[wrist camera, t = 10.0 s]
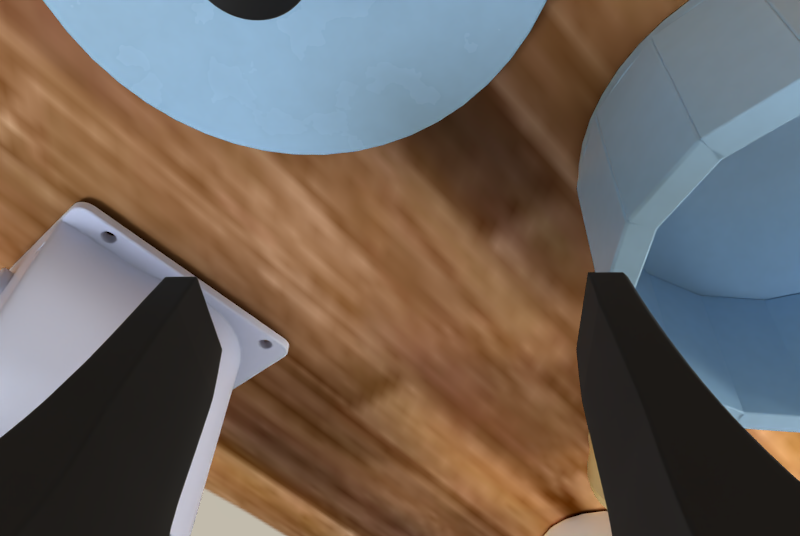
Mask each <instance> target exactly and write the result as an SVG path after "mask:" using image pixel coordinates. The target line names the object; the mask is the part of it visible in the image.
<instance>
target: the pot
mask: <svg viewBox="0 0 800 536" xmlns="http://www.w3.org/2000/svg"><path fill="white" fill-rule="evenodd" d="M577 192H578V197H579V201H580V206H581V210H582V215H583V219H584V224H585V228H586V233H587V237H588V242H589V246H590V251H591V255H592V260H593V264H594V269H595V272H623V273H624V274H625V275H627V276H628V278H629V279H630V281H631V283H632V284H633V286H634V287H635V289H636V291H637V292H638V294H639V295H640V297H641V298H642V300H643V302H644V303H645V305H646V306H647V308H648V309H649V311H650V312H651V314H652V315H653V316H654V318H655V319H656V321H657V322H658V324H659V325H660V327H661V328H662V329H663V331H664V332H665V334H666V335H667V336H668V338H669V339H670V340H671V342H672V343H673V344H674V346H675V347H676V348H677V350H678V351H679V352H680V354H681V355H682V356H683V357H684V359H685V360H686V361H687V363H688V364H689V365H690V367H691V368H692V369H693V370H694V372H695V373H696V374H697V375H698V377H699V378H700V379H701V380H702V381H703V383H704V384H705V385H706V386H707V387H708V389H709V390H710V391H711V392H712V393H713V394H714V396H715V397H716V398H717V399H718V400H719V401H720V402H721V404H722V405H723V406H724V407H725V408H726V409H727V410H728V411H729V413H730V414H731V415H732V416H733V417H734V418H735V419H736V420H737V421H738V422H739V423H740V424H741V425H742V427H743V428H744V429H757V430H772V431H786V432H800V0H689V1H688V2H687V3H685V4H684V5H683V6H682V7H680V8H679V9H678V10H676V11H675V12H674V13H673V14H671V15H670V16H669V17H668V18H666V19H665V20H664V21H663V22H662V23H661V24H659V25H658V26H657V27H656V28H655V29H654V30H653V31H652V32H651V33H650V34H649V35H648V36H647V37H646V38H645V39H644V40H643V41H642V42H641V43H640V44H639V45H638V46H637V47H636V49H635V50H634V51H633V52H632V53H631V55H630V56H629V57H628V58H627V59H626V61H625V62H624V63H623V64H622V65H621V67H620V68H619V69H618V71H617V72H616V74H615V75H614V77H613V78H612V80H611V81H610V83H609V85H608V86H607V88H606V89H605V91H604V92H603V94H602V96H601V98H600V100H599V102H598V104H597V106H596V108H595V110H594V112H593V114H592V116H591V119H590V122H589V125H588V128H587V131H586V134H585V137H584V140H583V143H582V149H581V155H580V161H579V176H578V182H577Z"/></svg>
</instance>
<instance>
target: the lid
mask: <svg viewBox="0 0 800 536" xmlns="http://www.w3.org/2000/svg"><path fill="white" fill-rule="evenodd" d="M43 1H44V2H45V4H46V5H47V6H48V8H49V9H50V10H51V11H52V13H53V14H54V15H55V17H56V18H57V19H58V21H59V22H60V23H61V24H62V26H63V27H64V28H65V30H66V31H67V32H68V33H69V34H70V35H71V36H72V38H73V39H74V40H75V41H76V42H77V43H78V44H79V45H80V46H81V47H82V48H83V49H84V50H85V52H86V53H87V54H88V55H89V56H90V57H91V58H92V59H93V60H94V61H95V62H96V63H98V64H99V65H100V66H101V67H102V68H103V69H104V70H105V71H107V72H108V73H109V74H110V75H111V76H112V77H113V78H114V79H116V80H117V81H118V82H119V83H120V84H122V85H123V86H124V87H126V88H127V89H129V90H130V91H131V92H133V93H134V94H135V95H137V96H138V97H140V98H141V99H142V100H144V101H145V102H146V103H148V104H150V105H151V106H153V107H155V108H156V109H158V110H160V111H161V112H163V113H165V114H167V115H168V116H170V117H172V118H173V119H175V120H177V121H179V122H181V123H183V124H186V125H188V126H190V127H192V128H194V129H196V130H199V131H201V132H203V133H205V134H208V135H211V136H214V137H217V138H220V139H222V140H225V141H228V142H231V143H234V144H238V145H242V146H246V147H251V148H255V149H259V150H264V151H271V152H279V153H287V154H300V155H327V154H337V153H346V152H355V151H359V150H364V149H368V148H373V147H377V146H382V145H385V144H388V143H391V142H394V141H396V140H399V139H402V138H405V137H408V136H411V135H413V134H415V133H417V132H419V131H421V130H423V129H425V128H427V127H429V126H431V125H433V124H435V123H437V122H439V121H440V120H442V119H443V118H445V117H446V116H448V115H449V114H451V113H452V112H454V111H455V110H457V109H458V108H460V107H461V106H463V105H464V104H465V103H467V102H468V101H469V100H470V99H471V98H472V97H474V96H475V95H476V94H477V93H478V92H479V91H481V90H482V89H483V88H484V87H485V86H486V85H488V84H489V83H490V81H491V80H492V79H493V78H494V77H495V76H496V75H497V74H498V73H499V72H500V71H501V69H502V68H503V67H504V66H505V65H506V64H507V63H508V62H509V61H510V60H511V58H512V57H513V55H514V54H515V52H516V51H517V50H518V48H519V47H520V45H521V44H522V43H523V41H524V40H525V38H526V37H527V35H528V34H529V33H530V31H531V29H532V28H533V26H534V24H535V22H536V20H537V18H538V16H539V14H540V13H541V11H542V9H543V7H544V5H545V3H546V1H547V0H43Z"/></svg>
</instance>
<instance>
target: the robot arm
mask: <svg viewBox="0 0 800 536" xmlns="http://www.w3.org/2000/svg"><path fill="white" fill-rule="evenodd" d="M107 232H110V233H112V234H114V235H115V236H111V235H109V234H108V233H107ZM265 340H268V341H265ZM288 349H289V343H288V341H287V340H286V339H284V338H283V337H282V336H280V335H279V334H277V333H276V332H274V331H273V330H271V329H270V328H269V327H267V326H266V325H264V324H263V323H261V322H260V321H259V320H257V319H256V318H254V317H253V316H251V315H250V314H249V313H247V312H246V311H244V310H243V309H241V308H240V307H239V306H237V305H236V304H234V303H233V302H231V301H230V300H228V299H227V298H226V297H224V296H223V295H221V294H220V293H218V292H217V291H216V290H214V289H213V288H211V287H210V286H208V285H207V284H206V283H204V282H203V281H201V280H200V279H198V278H197V277H196V276H194V275H193V274H191V273H190V272H188V271H187V270H185V269H184V268H183V267H181V266H180V265H178V264H177V263H175V262H174V261H173V260H171V259H170V258H168V257H167V256H165V255H164V254H163V253H161V252H160V251H158V250H157V249H155V248H154V247H153V246H151V245H150V244H148V243H147V242H145V241H144V240H142V239H141V238H140V237H138V236H137V235H135V234H134V233H132V232H131V231H130V230H128V229H127V228H125V227H124V226H122V225H121V224H120V223H118V222H117V221H115V220H114V219H112V218H111V217H109V216H108V215H107V214H105V213H104V212H102V211H101V210H99V209H98V208H97V207H95V206H94V205H92V204H90V203H86V202H77V203H75V204H73V205H72V206H71V207H70V208H69V209H68V210H67V211H66V212H65V213H64V215H63V216H62V217H61V218H60V219H59V220H58V221H57V222H56V223H55V224H54V225H53V226H52V227H51V228H50V229H49V230H48V231H47V232H46V233H45V234H44V235H43V236H42V237H41V238H40V239H39V240H38V241H37V242H36V243H35V244H34V245H33V246H32V247H31V248H30V249H29V250H28V251H27V252H26V253H25V254H24V255H23V256H22V257H21V258H20V259H19V260H18V261H17V262H16V263H15V264H14V265H13V266H12V267H11V268H10V269H9V270H8V269H6V268H3V269H1V270H0V536H190V535H191V532H192V528H193V525H194V522H195V518H196V515H197V511H198V508H199V504H200V501H201V497H202V494H203V490H204V487H205V483H206V480H207V476H208V473H209V469H210V466H211V462H212V459H213V455H214V452H215V448H216V445H217V441H218V438H219V435H220V431H221V428H222V424H223V421H224V417H225V414H226V410H227V407H228V403H229V400H230V396H231V393H232V390H233V389H234V388H236V387H238V386H239V385H241V384H242V383H244V382H245V381H247V380H249V379H250V378H252V377H253V376H255V375H256V374H258V373H260V372H261V371H263V370H264V369H266V368H268V367H269V366H271V365H272V364H274V363H275V362H277V361H279V360H280V359H282V358H283V357H285V356H286V355H287V353H288ZM576 350H577V360H578V369H579V379H580V387H581V396H582V402H583V407H584V411H585V416H586V420H587V425H588V429H589V433H590V438H591V442H592V446H593V450H594V455H595V459H596V463H597V468H598V472H599V476H600V480H601V485H602V489H603V493H604V498H605V502H606V506H607V511H608V516H609V521H610V526H611V532H612V536H800V481H799V480H797V479H796V478H795V477H794V476H793V475H792V474H791V473H789V472H788V471H787V470H786V469H785V468H784V467H783V466H782V465H781V464H780V463H779V462H778V461H777V460H776V459H775V458H774V457H773V456H771V455H770V454H769V453H768V452H767V451H766V450H765V449H764V448H763V447H762V446H761V445H760V444H759V443H758V442H757V441H756V440H755V439H754V438H753V437H752V436H751V435H750V434H749V433H748V432H747V431H746V430H745V429H744V428H743V427H742V425H741V424H740V423H739V422H738V421H737V420H736V419H735V418H734V417H733V416H732V415H731V414H730V413H729V411H728V410H727V409H726V408H725V407H724V406H723V405H722V404H721V402H720V401H719V400H718V399H717V398H716V397H715V396H714V394H713V393H712V392H711V391H710V390H709V389H708V387H707V386H706V385H705V384H704V383H703V381H702V380H701V379H700V378H699V377H698V375H697V374H696V373H695V372H694V370H693V369H692V368H691V367H690V365H689V364H688V363H687V361H686V360H685V359H684V357H683V356H682V355H681V354H680V352H679V351H678V350H677V348H676V347H675V346H674V344H673V343H672V342H671V340H670V339H669V338H668V336H667V335H666V334H665V332H664V331H663V329H662V328H661V327H660V325H659V324H658V322H657V321H656V319H655V318H654V316H653V315H652V314H651V312H650V311H649V309H648V308H647V306H646V305H645V303H644V302H643V300H642V298H641V297H640V295H639V294H638V292H637V291H636V289H635V287H634V286H633V284H632V283H631V281H630V279H629V278H628V276H627V275H625V274H624V273H623V272H588V276H587V283H586V289H585V296H584V302H583V309H582V316H581V322H580V329H579V335H578V342H577V349H576Z"/></svg>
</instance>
